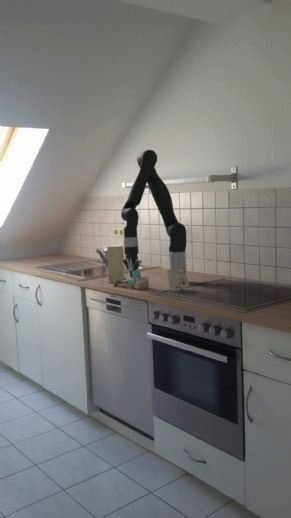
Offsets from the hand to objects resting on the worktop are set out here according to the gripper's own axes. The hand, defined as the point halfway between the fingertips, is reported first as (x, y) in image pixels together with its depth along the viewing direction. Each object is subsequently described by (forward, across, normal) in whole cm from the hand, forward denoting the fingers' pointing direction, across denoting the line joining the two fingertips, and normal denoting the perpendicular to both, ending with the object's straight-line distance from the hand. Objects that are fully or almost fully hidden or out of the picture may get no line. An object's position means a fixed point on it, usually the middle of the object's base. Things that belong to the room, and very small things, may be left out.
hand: (132, 277), depth 275 cm
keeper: (+4, -1, 0) cm, 4 cm away
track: (+6, +2, 0) cm, 6 cm away
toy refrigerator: (+6, +22, -6) cm, 23 cm away
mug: (+6, -27, -8) cm, 29 cm away
